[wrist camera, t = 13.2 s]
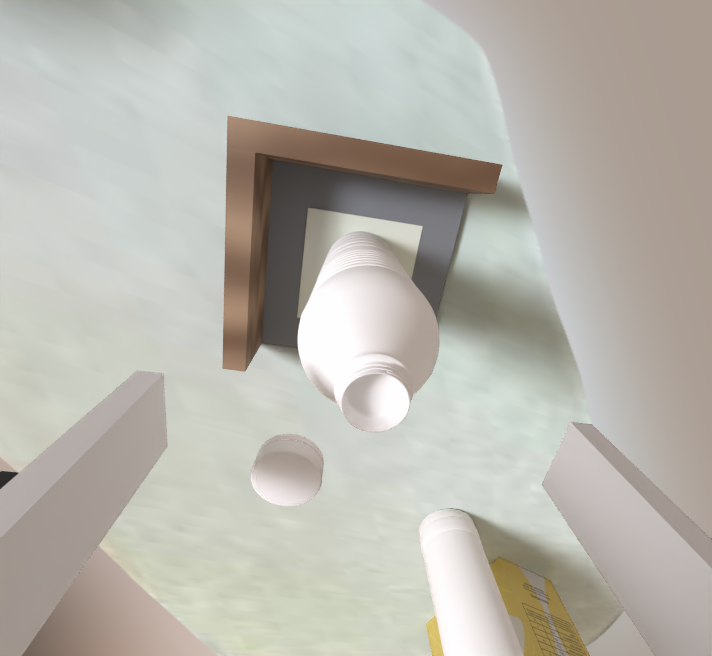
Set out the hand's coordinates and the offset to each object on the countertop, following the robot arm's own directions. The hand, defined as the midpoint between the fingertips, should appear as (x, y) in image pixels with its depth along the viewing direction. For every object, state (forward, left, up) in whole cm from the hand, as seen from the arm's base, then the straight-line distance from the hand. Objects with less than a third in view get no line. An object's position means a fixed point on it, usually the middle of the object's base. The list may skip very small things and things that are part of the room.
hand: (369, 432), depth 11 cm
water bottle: (0, 0, -25) cm, 25 cm away
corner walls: (-1, -1, -26) cm, 26 cm away
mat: (0, 0, -26) cm, 26 cm away
